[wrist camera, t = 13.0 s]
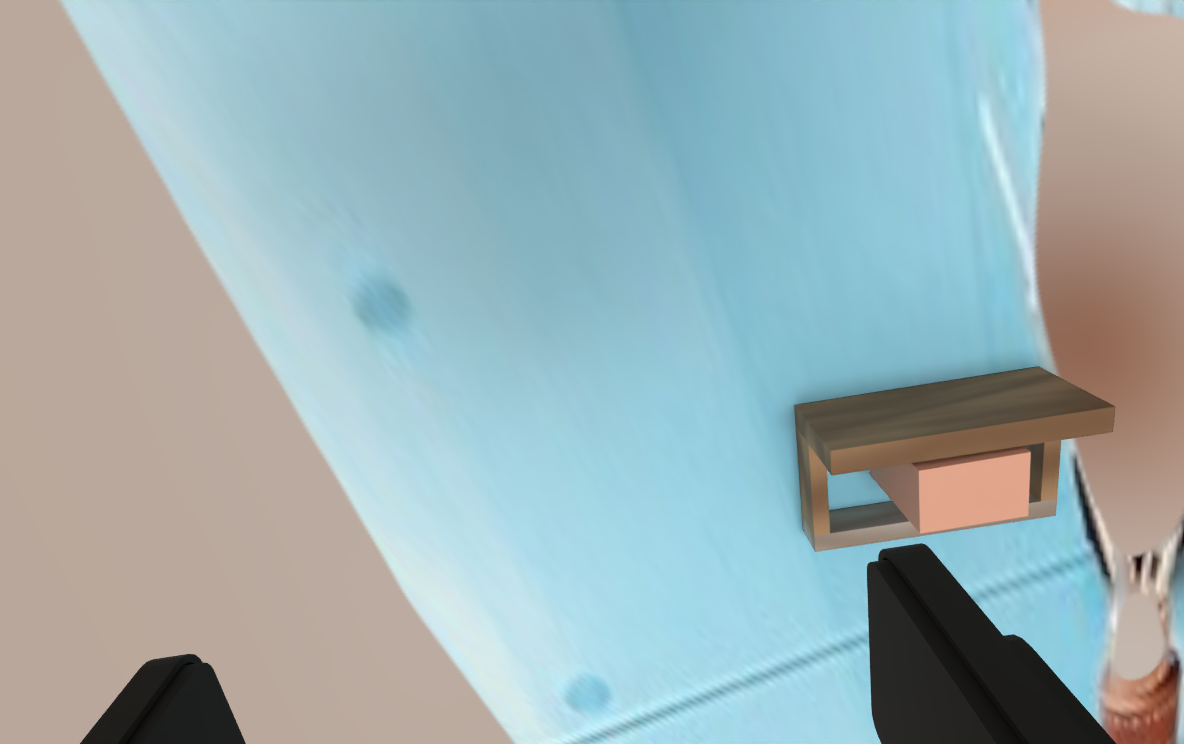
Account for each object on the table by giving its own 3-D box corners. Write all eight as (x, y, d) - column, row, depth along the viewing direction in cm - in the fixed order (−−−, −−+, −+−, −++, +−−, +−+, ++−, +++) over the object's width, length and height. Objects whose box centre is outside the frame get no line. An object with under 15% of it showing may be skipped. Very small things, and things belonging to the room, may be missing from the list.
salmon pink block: (867, 419, 44) (918, 470, 38) (962, 403, 44) (1030, 452, 37) (870, 485, 46) (920, 545, 39) (961, 469, 46) (1027, 528, 39)
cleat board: (794, 405, 44) (830, 451, 38) (1038, 366, 43) (1115, 406, 37) (802, 530, 47) (837, 591, 41) (1031, 495, 46) (1101, 552, 40)
